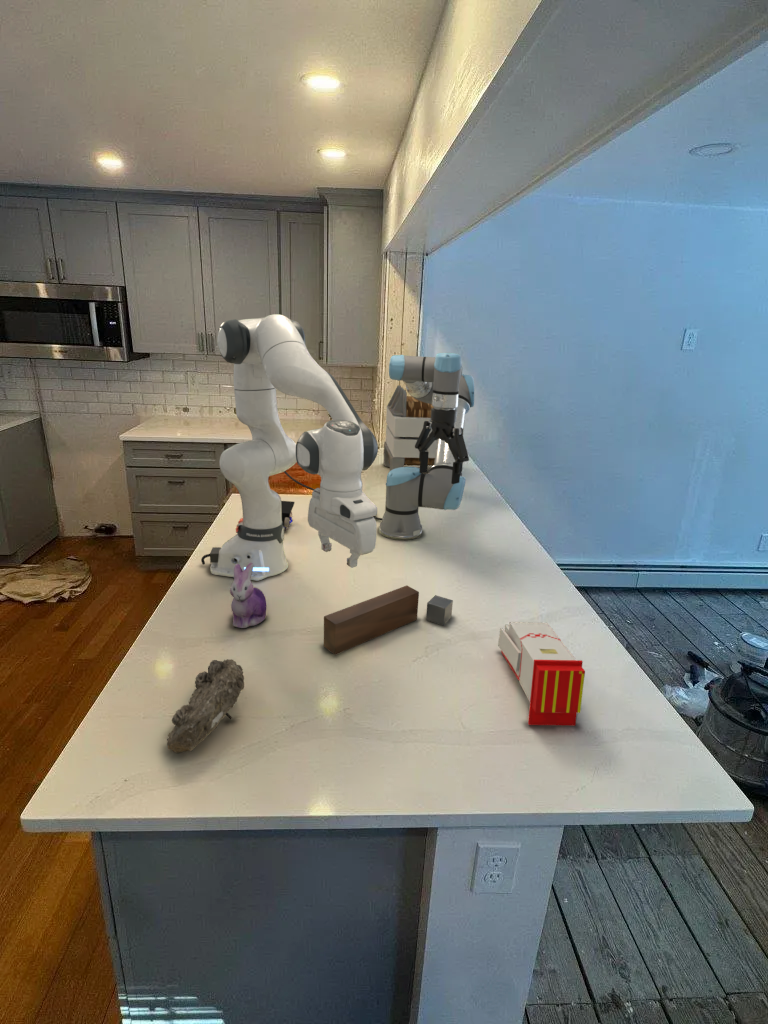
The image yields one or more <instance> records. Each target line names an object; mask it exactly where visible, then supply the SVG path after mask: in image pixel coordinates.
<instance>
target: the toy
mask: <svg viewBox="0 0 768 1024" xmlns="http://www.w3.org/2000/svg"><path fill="white" fill-rule="evenodd" d="M498 636H499V637H498V642H497V646H498V647H499V649H500V653H501V654H502V656H503V657H504V659H505V661H506V663H507V664H508V665H509V667H510V669H511V671H512V672H513V674H514V676H515V677H516V679H517V680H518V681H519V684H520V686H521V688H522V690H523V692H524V694H525V696H526V698H527V700H528V701H529V710H528V719H527V724H528V726H573V727H575V726H576V724H577V723H576V722H577V715H578V714H581V710H582V709H581V708H582V701H583V692H584V683H585V674H586V670H585V669H584V668H583V662H584V661H583V660H581V659H580V660H578V659H576V657H575V656H574V655H573V654H572V653H571V651H570V650H569V648H568V647H567V645H565V644H564V642H563V641H562V640H561V638H560V637H559V636H558V635H557V633H556V631H555V630H554V629H553V628H552V627H551V626H550V624H549V622H527V621H526V622H525V621H523V622H521V621H509V624H504V628H503V627H500V628H499V634H498Z"/></svg>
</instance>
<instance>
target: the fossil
mask: <svg viewBox="0 0 768 1024" xmlns="http://www.w3.org/2000/svg"><path fill="white" fill-rule="evenodd" d="M243 670H244V669H243V667H242V665H240V664H237V662H236V661H235V660H234V659H232V658H231V659H227V658H226V659H224V660H223V661H222V660H217V659H212V660H211V661H210V663H209V665H208V666H207V671H201V672H199V673H198V674H197V675H196V676H195V680H194V684H195V685H194V687H195V689H194V690H193V693H192V694H191V697H190V698H189V700H188V704H184V705H182V706H181V707H180V709H177V710H176V711H175V713H174V715H173V716H172V718H171V723H172V724H173V727H172V730H171V731H170V732H168V734H167V738H166V741H167V742H166V745H167V749H168V750H169V751H173V752H174V753H176V754H178V753H182V752H188V751H189V752H192V751H193V750H195V748H196V747H197V746H199V744H200V743H201V742H203V741H204V740H205V739H206V738H207V737H208V736H209V735H210V734H211V733H212V732H214V730H215V729H217V727H218V726H219V724H220V722H221V721H222V720H223V719H224V718H225V716H226V717H227V719H229V720H233V717H232V715H230V714H229V710H230V709H231V708H234V706H235V704H236V703H237V702H238V699H239V697H240V695H241V693H242V691H243V690H245V689H244V688H245V675H244V671H243Z"/></svg>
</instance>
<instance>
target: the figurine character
mask: <svg viewBox="0 0 768 1024" xmlns="http://www.w3.org/2000/svg"><path fill="white" fill-rule="evenodd" d="M294 505H295V501H289V500H281V508H282V521H283V527H284V533H285V532H286V531H287V529H288V528H289V527H290V524H291V523H293V522H294V520H293V518H292V517H293V512H292V511H293V508H294Z"/></svg>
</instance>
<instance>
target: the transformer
mask: <svg viewBox="0 0 768 1024" xmlns="http://www.w3.org/2000/svg"><path fill="white" fill-rule="evenodd" d="M407 394H408V392H407V389H404V388H403V387H402V385H399V384H398V385H397V386H396V388H395V390H394V392H393V394H392V395H391V398H390V400H389V402H388V404H387V405H386V413H385V414H386V415H385V423H386V428H385V438H384V442H383V466H384V467H388V468H389V472H390V471H391V470H393V469H396V468H400V467H405V466H406V467H417V466H418V467H420V461H419V453H420V452H419V450H418V449H416V448H415V444H416V442H417V440H418V438H419V436H420V433H421V431H422V429H423V425H424V421H430V420H431V409H432V408H434V407H433V406H432V404H428V403H424V402H421V401H419V400H417V399H415V398H414V397H412V396H411V395H407ZM431 421H432V420H431ZM464 422H465V419H464ZM464 429H465V423H464V424H463V433H464V431H465V430H464ZM431 432H432V428H431V431H430V433H431ZM430 433H429V434H430ZM428 437H429V435H428ZM428 437H427V438H428ZM436 446H437V439H436V440H435V441H434V442H433V443H432V444H431V446H430V447H429V448H428V451H427V452H429V454H428V467H432V466H434V461H435V453H436Z"/></svg>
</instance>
